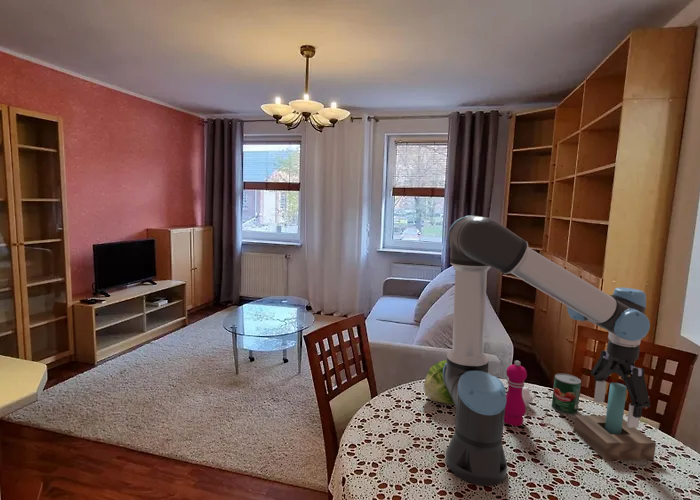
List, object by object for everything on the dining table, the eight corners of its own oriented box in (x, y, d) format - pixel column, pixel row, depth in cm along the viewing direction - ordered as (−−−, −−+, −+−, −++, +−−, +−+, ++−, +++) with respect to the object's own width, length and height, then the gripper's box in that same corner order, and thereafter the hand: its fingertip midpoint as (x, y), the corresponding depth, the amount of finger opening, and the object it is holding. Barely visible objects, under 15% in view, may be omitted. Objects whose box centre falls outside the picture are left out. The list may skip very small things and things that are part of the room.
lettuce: (418, 397, 143) (411, 363, 138) (468, 376, 148) (463, 342, 143) (440, 427, 129) (433, 391, 123) (495, 403, 133) (490, 366, 128)
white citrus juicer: (514, 399, 140) (516, 380, 139) (533, 404, 136) (535, 385, 135) (510, 405, 135) (511, 386, 134) (529, 411, 131) (531, 392, 130)
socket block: (604, 459, 107) (606, 442, 107) (573, 430, 121) (575, 415, 120) (653, 460, 108) (656, 443, 107) (617, 431, 122) (619, 415, 121)
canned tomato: (553, 411, 132) (556, 380, 131) (550, 401, 139) (553, 371, 138) (579, 417, 129) (583, 385, 128) (575, 406, 136) (578, 375, 135)
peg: (609, 448, 112) (616, 388, 110) (599, 440, 116) (606, 382, 114) (622, 448, 113) (630, 389, 110) (612, 440, 117) (620, 382, 114)
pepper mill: (526, 428, 121) (533, 366, 119) (502, 425, 122) (507, 363, 120) (521, 416, 128) (527, 357, 126) (498, 413, 129) (503, 355, 127)
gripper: (674, 360, 99) (663, 439, 101) (606, 329, 123) (598, 393, 126) (645, 359, 98) (635, 438, 101) (583, 328, 123) (575, 392, 125)
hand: (614, 413), depth 113 cm, fingers open, 13 cm apart
